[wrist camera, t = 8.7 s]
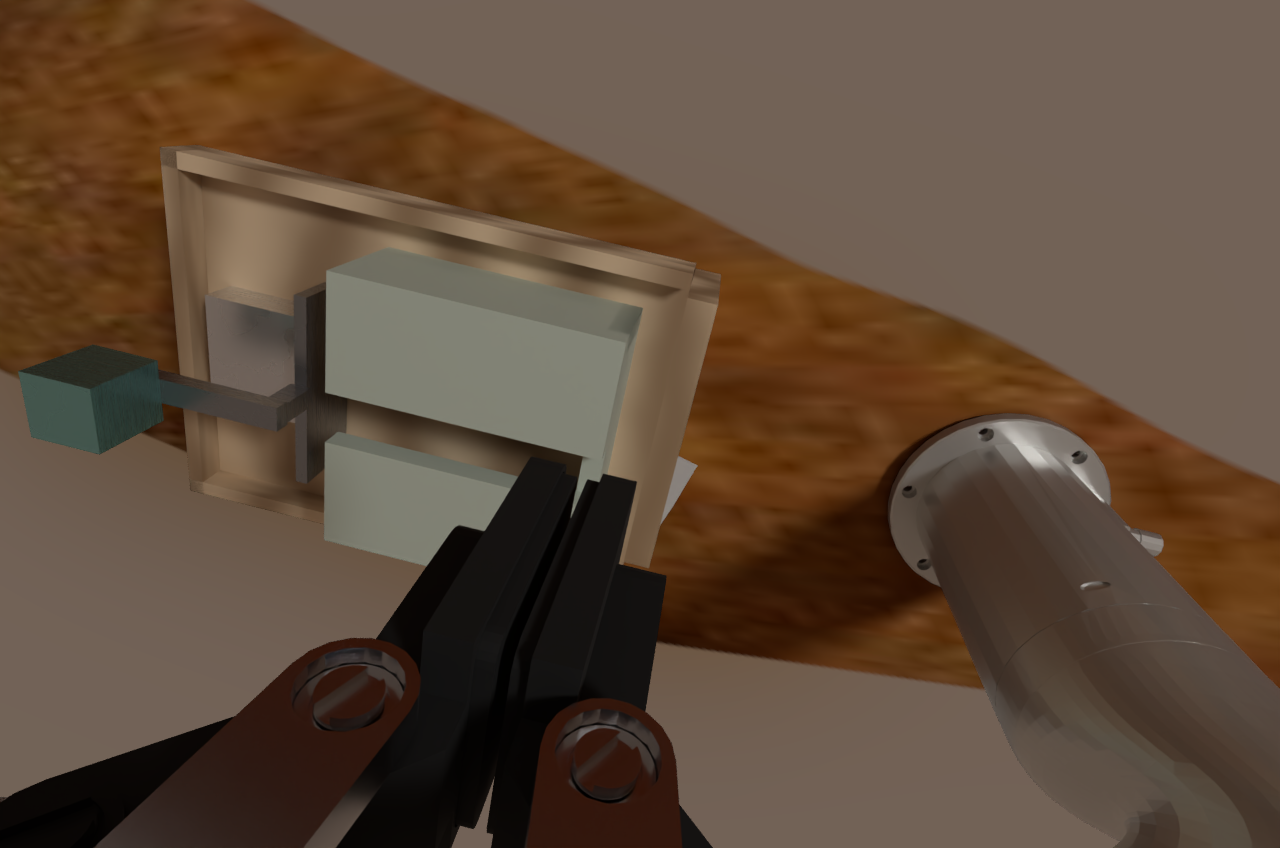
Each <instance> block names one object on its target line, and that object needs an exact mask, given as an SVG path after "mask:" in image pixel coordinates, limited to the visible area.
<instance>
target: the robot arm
mask: <svg viewBox="0 0 1280 848" xmlns="http://www.w3.org/2000/svg"><path fill="white" fill-rule="evenodd" d="M984 428H985V430H984V431H982V432H980V430H982V429H984ZM566 468H567V467H566V464H562V463H558V462H554V461H550V460H545V459H541V458H537V457H530V459H529V460H528V462H527V463H526V465H525V467H524V468H523V470H522V471H521V473H520V475H519V476H518V478H517V480H516V481H515V483H514V484H513V486H512V488H511V489H510V491H509V492H508V494H507V496H506V497H505V499H504V501H503V502H502V504H501V505H500V507H499V509H498V510H497V512H496V514H495V515H494V517H493V518H492V520H491V522H490V523H489V525H488V526H487V528H486V530H485V531H482V530H478V529H474V528H470V527H466V526H461V525H458V526H456V527H455V528H454V529H453V530H452V531H451V532H450V534H449V535H448V537H447V538H446V539H445V541H444V542H443V544H442V545H441V547H440V548H439V549H438V551H437V552H436V554H435V555H434V557H433V558H432V559H431V561H430V562H429V564H428V565H427V567H426V568H425V570H424V571H423V572H422V574H421V576H420V577H419V578H418V580H417V581H416V582H415V584H414V586H413V587H412V588H411V590H410V591H409V592H408V594H407V595H406V597H405V598H404V600H403V601H402V602H401V604H400V606H399V607H398V608H397V610H396V611H395V612H394V614H393V615H392V617H391V618H390V620H389V621H388V622H387V624H386V625H385V627H384V628H383V630H382V631H381V633H380V634H379V635H378V637H377V638H376V639H373V638H348V639H344V640H338V641H333V642H329V643H326V644H324V645H322V646H319V647H317V648H315V649H312V650H310V651H308V652H307V653H306V654H304V655H303V656H302V657H300V658H299V659H297V660H296V661H295V662H293V663H292V664H291V665H290V666H289V667H287V668H286V669H285V670H284V671H283V672H282V673H281V674H280V675H279V676H278V677H277V678H276V679H275V680H273V681H272V682H271V683H270V684H269V685H268V686H267V687H266V688H265V689H264V690H263V691H262V692H261V693H260V694H259V695H257V696H256V697H255V698H254V699H253V700H252V701H251V702H250V703H249V704H248V705H247V706H246V707H244V708H243V709H242V710H241V711H240V712H239V713H238V714H237V715H236V716H234V717H231V718H228V719H225V720H222V721H219V722H216V723H213V724H210V725H207V726H204V727H201V728H198V729H195V730H192V731H189V732H186V733H183V734H181V735H178V736H174V737H171V738H168V739H165V740H162V741H160V742H157V743H154V744H151V745H148V746H145V747H142V748H139V749H136V750H133V751H130V752H127V753H124V754H121V755H118V756H115V757H112V758H109V759H106V760H103V761H100V762H97V763H94V764H92V765H88V766H85V767H82V768H79V769H76V770H74V771H70V772H67V773H64V774H61V775H58V776H55V777H52V778H49V779H46V780H44V781H42V782H39V783H37V784H35V785H32V786H30V787H28V788H25V789H23V790H21V791H19V792H16V793H14V794H12V795H11V796H9V797H0V848H451V847H452V844H453V842H454V839H455V837H456V834H457V832H458V829H459V827H460V826H464V827H467V828H471V829H474V828H475V826H476V824H477V822H478V819H479V817H480V814H481V811H482V809H483V806H484V803H485V801H486V798H487V795H488V793H489V790H490V787H491V785H492V782H493V779H494V785H493V792H492V798H491V805H490V811H489V817H488V824H487V833H490V834H493V839H492V846H491V848H713V847H712V846H711V845H710V844H709V842H708V841H707V840H706V838H705V837H704V836H703V835H702V833H701V832H700V831H699V829H698V828H697V827H696V826H695V824H694V823H693V822H692V821H691V819H690V818H689V816H688V815H687V814H686V813H685V811H684V810H683V809H682V807H681V806H680V805H679V795H678V780H677V766H676V759H675V755H674V751H673V746H672V743H671V741H670V739H669V738H668V736H667V734H666V733H665V731H664V729H663V728H662V726H661V725H659V724H658V723H657V722H656V721H655V720H654V719H653V718H652V717H651V716H650V715H649V714H648V713H646V712H645V710H646V704H647V697H648V691H649V684H650V679H651V671H652V666H653V660H654V653H655V647H656V641H657V635H658V628H659V622H660V616H661V610H662V603H663V597H664V591H665V585H666V575H662V574H657V573H653V572H649V571H645V570H641V569H637V568H633V567H629V566H625V565H621V564H619V562H620V557H621V553H622V548H623V544H624V539H625V535H626V531H627V526H628V522H629V517H630V513H631V508H632V504H633V499H634V495H635V490H636V486H637V481H633V480H629V479H625V478H620V477H616V476H612V475H608V474H603V475H602V477H601V480H600V482H597V481H593V480H589V479H587V481H586V483H585V486H584V488H583V490H582V493H581V495H580V498H579V500H578V502H577V505H576V507H575V509H574V512H573V514H572V516H571V513H572V508H573V502H574V497H575V491H576V485H577V476H572V475H568V474H566ZM907 486H909V487H907ZM905 487H907V488H905ZM1110 503H1111V492H1110V482H1109V479H1108V476H1107V473H1106V470H1105V467H1104V465H1103V464H1102V462H1101V461H1100V459H1099V458H1098V456H1097V455H1096V453H1095V452H1094V451H1093V450H1092V449H1091V448H1090V447H1089V446H1088V445H1087V444H1086V443H1085V442H1084V441H1083V440H1082V439H1081V438H1080V437H1078V436H1077V435H1076V434H1074V433H1073V432H1072V431H1070V430H1069V429H1068V428H1066V427H1064V426H1062V425H1059V424H1057V423H1055V422H1053V421H1051V420H1048V419H1044V418H1040V417H1036V416H1032V415H1027V414H1011V413H1004V414H994V415H984V416H981V417H977V418H973V419H969V420H966V421H962V422H960V423H958V424H956V425H953V426H951V427H949V428H947V429H944V430H943V431H941V432H939V433H938V434H936V435H935V436H933V437H932V438H930V439H929V440H927V441H926V442H925V443H924V444H922V445H921V446H920V447H919V448H918V449H917V450H916V451H915V452H914V453H913V454H912V455H911V456H910V457H909V458H908V460H907V461H906V462H905V464H904V465H903V466H902V468H901V469H900V471H899V473H898V475H897V477H896V479H895V481H894V483H893V485H892V488H891V492H890V496H889V500H888V522H889V527H890V531H891V535H892V537H893V540H894V542H895V545H896V548H897V550H898V551H899V553H900V554H901V556H902V557H903V559H904V561H905V562H906V563H907V564H908V565H909V566H910V567H911V568H912V570H913V571H915V572H916V573H917V574H918V575H920V576H921V577H923V578H924V579H926V580H927V581H929V582H930V583H932V584H934V585H937V586H939V587H941V588H942V591H943V593H944V595H945V598H946V600H947V602H948V605H949V607H950V609H951V612H952V614H953V616H954V618H955V621H956V623H957V625H958V628H959V630H960V632H961V635H962V637H963V639H964V642H965V644H966V646H967V649H968V651H969V653H970V656H971V658H972V660H973V663H974V665H975V667H976V670H977V672H978V674H979V676H980V679H981V681H982V683H983V686H984V688H985V690H986V693H987V695H988V697H989V700H990V702H991V704H992V706H993V709H994V711H995V714H996V716H997V718H998V721H999V722H1000V724H1001V727H1002V729H1003V731H1004V733H1005V736H1006V738H1007V740H1008V743H1009V745H1010V746H1011V748H1012V751H1013V752H1014V754H1015V756H1016V758H1017V760H1018V761H1019V763H1020V764H1021V766H1022V767H1023V768H1024V770H1025V771H1026V773H1027V774H1028V775H1029V776H1030V778H1031V779H1032V780H1033V781H1034V782H1035V783H1036V784H1037V785H1038V786H1039V787H1040V788H1041V789H1042V790H1043V791H1044V792H1045V793H1046V794H1047V795H1048V796H1049V797H1050V798H1051V799H1052V800H1053V801H1055V802H1056V803H1058V804H1059V805H1060V806H1061V807H1063V808H1064V809H1066V810H1067V811H1068V812H1070V813H1071V814H1073V815H1074V816H1076V817H1077V818H1079V819H1080V820H1082V821H1084V822H1085V823H1087V824H1089V825H1090V826H1092V827H1094V828H1096V829H1098V830H1099V831H1101V832H1103V833H1105V834H1107V835H1108V836H1110V837H1112V838H1114V839H1116V840H1118V841H1120V842H1119V843H1118V844H1117V845H1116V846H1115V847H1113V848H1280V689H1279V688H1278V687H1277V686H1276V685H1275V684H1274V683H1273V682H1272V681H1271V680H1270V679H1269V678H1268V677H1267V676H1266V675H1265V674H1264V673H1263V672H1262V671H1261V670H1260V669H1259V668H1258V667H1257V666H1256V665H1255V664H1254V663H1253V661H1252V660H1251V659H1250V658H1249V657H1248V656H1247V655H1246V654H1245V653H1244V652H1243V651H1242V650H1241V649H1240V648H1239V647H1238V646H1237V645H1236V643H1235V642H1234V641H1233V640H1232V639H1231V638H1230V637H1229V636H1228V635H1227V634H1226V633H1225V632H1224V631H1222V629H1221V628H1220V627H1219V626H1218V625H1217V624H1216V623H1215V622H1214V621H1213V620H1212V619H1211V618H1210V617H1209V616H1208V615H1207V613H1206V612H1205V611H1204V610H1203V609H1202V608H1201V607H1200V606H1199V605H1198V604H1197V603H1196V602H1195V601H1194V600H1193V599H1192V598H1191V596H1190V595H1189V594H1188V593H1187V592H1186V591H1185V590H1184V589H1183V588H1182V587H1181V586H1180V585H1179V584H1178V583H1177V582H1176V581H1175V579H1174V578H1173V577H1172V576H1171V575H1170V574H1169V573H1168V572H1167V571H1166V570H1165V569H1164V568H1163V567H1162V566H1161V565H1160V564H1159V562H1158V561H1157V560H1156V559H1155V558H1154V557H1153V556H1157V555H1158V554H1159V553H1160V552H1161V551H1162V548H1163V539H1162V537H1161V535H1159V534H1157V533H1153V532H1149V531H1145V530H1141V529H1137V528H1134V529H1132V528H1130V527H1129V526H1128V525H1127V524H1126V523H1125V522H1124V521H1123V520H1122V518H1121V517H1120V516H1119V515H1118V514H1117V513H1116V512H1115V511H1114V510H1113V509H1112V508H1111V507H1110ZM494 776H495V778H494Z"/></svg>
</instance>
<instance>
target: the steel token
mask: <svg viewBox="0 0 1280 848" xmlns="http://www.w3.org/2000/svg"><path fill="white" fill-rule="evenodd" d="M205 305H206V320H207V334H208V349H209V363H210V377H211V383H215V384H219V385H223V386H227V387H231V388H235V389H239V390H243V391H247V392H251V393H255V394H259V395H263V396H267V397H269V396H271V395H272V394H274V393H276V392H277V391H279V390H281V389H282V388H284V387H286V386H287V385H289V384H295V370H294V301H292V300H288V299H284V298H280V297H276V296H272V295H267V294H263V293H259V292H255V291H251V290H247V289H243V288H239V287H235V286H229V287H226V288H223V289H220V290H217V291H214V292H212V293H209V294H206V295H205ZM289 422H292V423H295V418H294V419H292V420H291V421H289Z"/></svg>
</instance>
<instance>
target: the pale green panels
mask: <svg viewBox="0 0 1280 848" xmlns="http://www.w3.org/2000/svg"><path fill="white" fill-rule="evenodd" d="M642 311H643V308H641V307H637V306H633V305H629V304H624V303H620V302H616V301H612V300H608V299H604V298H599V297H595V296H591V295H587V294H583V293H579V292H574V291H570V290H566V289H562V288H558V287H554V286H549V285H545V284H541V283H537V282H533V281H529V280H524V279H520V278H516V277H512V276H508V275H504V274H499V273H495V272H491V271H487V270H483V269H479V268H474V267H470V266H466V265H462V264H458V263H454V262H449V261H445V260H441V259H437V258H433V257H429V256H424V255H420V254H416V253H412V252H408V251H404V250H399V249H395V248H391V247H387V248H384V249H382V250H379V251H376V252H374V253H371V254H369V255H366V256H363V257H361V258H358V259H355V260H353V261H350V262H347V263H345V264H342V265H339V266H337V267H334V268H332V269H329V270H326V368H325V393H329V394H333V395H337V396H341V397H345V398H349V399H353V400H357V401H361V402H365V403H369V404H373V405H377V406H382V407H386V408H390V409H394V410H398V411H402V412H406V413H410V414H414V415H418V416H422V417H426V418H430V419H434V420H438V421H442V422H446V423H450V424H454V425H458V426H462V427H466V428H470V429H474V430H479V431H483V432H487V433H491V434H495V435H499V436H503V437H507V438H511V439H515V440H519V441H523V442H527V443H531V444H535V445H539V446H543V447H547V448H551V449H555V450H559V451H563V452H567V453H571V454H576V455H580V456H583V459H582V464H581V469H580V474H579V479H578V485H577V490H576V491H575V497H574V502H573V508H572V513H571V516H572V514H573V512H574V509H575V507H576V505H577V502H578V500H579V498H580V495H581V493H582V490H583V488H584V486H585V483H586V481H587V479H589V480H593V481H597V482H600V480H601V477H602V475H603V474H608V469H609V465H610V460H611V456H612V451H613V446H614V442H615V437H616V432H617V428H618V423H619V418H620V414H621V409H622V404H623V400H624V395H625V390H626V386H627V381H628V376H629V372H630V367H631V362H632V358H633V353H634V348H635V344H636V339H637V334H638V330H639V325H640V321H641V316H642ZM517 478H518V476H514V475H510V474H506V473H502V472H498V471H494V470H490V469H486V468H482V467H478V466H474V465H470V464H466V463H462V462H458V461H454V460H450V459H446V458H442V457H438V456H434V455H430V454H426V453H422V452H418V451H414V450H410V449H406V448H402V447H398V446H394V445H390V444H386V443H382V442H378V441H374V440H370V439H366V438H362V437H358V436H354V435H350V434H346V433H342V432H337V433H336V434H335V435H333V436H332V437H331V438H330V439H328V440H327V441H326V442H325V483H324V540H326V541H330V542H334V543H338V544H342V545H346V546H350V547H353V548H357V549H361V550H365V551H369V552H373V553H377V554H381V555H385V556H389V557H393V558H397V559H401V560H405V561H409V562H413V563H417V564H420V565H424V566H427V565H428V564H429V562H430V561H431V559H432V558H433V557H434V555H435V554H436V552H437V551H438V549H439V548H440V547H441V545H442V544H443V542H444V541H445V539H446V538H447V537H448V535H449V534H450V532H451V531H452V530H453V529H454V528H455V527H456V526H458V525H461V526H466V527H470V528H474V529H478V530H482V531H485V530H486V528H487V526H488V525H489V523H490V522H491V520H492V518H493V517H494V515H495V514H496V512H497V510H498V509H499V507H500V505H501V504H502V502H503V501H504V499H505V497H506V496H507V494H508V492H509V491H510V489H511V488H512V486H513V484H514V483H515V481H516V480H517Z"/></svg>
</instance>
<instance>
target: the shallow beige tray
mask: <svg viewBox="0 0 1280 848" xmlns="http://www.w3.org/2000/svg"><path fill="white" fill-rule="evenodd" d="M160 156H161V167H162V178H163V189H164V201H165V212H166V223H167V234H168V245H169V256H170V267H171V278H172V289H173V301H174V312H175V323H176V334H177V345H178V356H179V367H180V375H183V376H187V377H191V378H195V379H199V380H203V381H207V382H211V377H210V363H209V349H208V334H207V320H206V305H205V295H206V294H209V293H212V292H214V291H217V290H220V289H223V288H226V287H229V286H235V287H239V288H243V289H247V290H251V291H255V292H259V293H263V294H267V295H272V296H276V297H280V298H284V299H288V300H292V301H294V294H296V293H299V292H301V291H304V290H306V289H309V288H311V287H314V286H316V285H319V284H321V283H323V282H326V270H329V269H332V268H334V267H337V266H339V265H342V264H345V263H347V262H350V261H353V260H355V259H358V258H361V257H363V256H366V255H369V254H371V253H374V252H376V251H379V250H382V249H384V248H387V247H391V248H395V249H399V250H404V251H408V252H412V253H416V254H420V255H424V256H429V257H433V258H437V259H441V260H445V261H449V262H454V263H458V264H462V265H466V266H470V267H474V268H479V269H483V270H487V271H491V272H495V273H499V274H504V275H508V276H512V277H516V278H520V279H524V280H529V281H533V282H537V283H541V284H545V285H549V286H554V287H558V288H562V289H566V290H570V291H574V292H579V293H583V294H587V295H591V296H595V297H599V298H604V299H608V300H612V301H616V302H620V303H624V304H629V305H633V306H637V307H641V308H643V311H642V316H641V321H640V325H639V330H638V334H637V339H636V344H635V348H634V353H633V358H632V362H631V367H630V372H629V376H628V381H627V386H626V390H625V395H624V400H623V404H622V409H621V414H620V418H619V423H618V428H617V432H616V437H615V442H614V446H613V451H612V456H611V460H610V465H609V469H608V475H612V476H616V477H620V478H625V479H629V480H633V481H637V486H636V490H635V495H634V499H633V504H632V508H631V513H630V517H629V522H628V526H627V531H626V535H625V539H624V544H623V548H622V553H621V557H620V562H619V564H621V565H623V563H624V562H627V563H631V564H634V565H638V566H642V567H646V568H649V565H650V562H651V558H652V554H653V550H654V546H655V543H656V539H657V535H658V531H659V527H660V524H661V520H662V516H663V512H664V508H665V504H666V501H667V497H668V493H669V489H670V485H671V482H672V478H673V474H674V470H675V466H676V463H677V459H678V455H679V451H680V447H681V444H682V440H683V436H684V432H685V428H686V425H687V421H688V417H689V413H690V409H691V406H692V402H693V398H694V394H695V390H696V387H697V383H698V379H699V375H700V371H701V368H702V364H703V360H704V356H705V352H706V349H707V345H708V341H709V337H710V333H711V329H712V326H713V322H714V318H715V314H716V310H717V307H718V299H719V290H720V280H721V274H716V273H712V272H708V271H704V270H700V269H695V266H696V263H693V262H688V261H684V260H680V259H676V258H671V257H667V256H663V255H659V254H655V253H650V252H646V251H642V250H638V249H634V248H629V247H625V246H621V245H617V244H612V243H608V242H604V241H600V240H596V239H591V238H587V237H583V236H579V235H575V234H570V233H566V232H562V231H558V230H553V229H549V228H545V227H541V226H537V225H532V224H528V223H524V222H520V221H516V220H511V219H507V218H503V217H499V216H494V215H490V214H486V213H482V212H478V211H473V210H469V209H465V208H461V207H457V206H452V205H448V204H444V203H440V202H435V201H431V200H427V199H423V198H419V197H414V196H410V195H406V194H402V193H398V192H393V191H389V190H385V189H381V188H376V187H372V186H368V185H364V184H360V183H355V182H351V181H347V180H343V179H339V178H334V177H330V176H326V175H322V174H317V173H313V172H309V171H305V170H301V169H296V168H292V167H288V166H284V165H280V164H275V163H271V162H267V161H263V160H258V159H254V158H250V157H246V156H242V155H237V154H233V153H229V152H225V151H221V150H216V149H212V148H208V147H204V146H199V145H191V146H173V147H160ZM694 270H695V273H694ZM693 274H694V276H693ZM692 278H693V280H692ZM691 283H692V284H691ZM183 412H184V423H185V434H186V445H187V456H188V467H189V478H190V489H191V491H194V492H198V493H202V494H206V495H210V496H214V497H218V498H222V499H226V500H230V501H234V502H238V503H242V504H246V505H249V506H253V507H257V508H261V509H265V510H269V511H273V512H277V513H281V514H285V515H289V516H293V517H297V518H301V519H305V520H309V521H312V522H317V523H320V524H324V483H325V469H324V470H323V471H321V472H320V473H319V474H318V475H317V476H316V477H314V478H313V479H312V480H311V481H310V482H309V483H307V484H305V483H302V482H298V481H296V451H295V423H292V422H288V425H286V426H285V427H283V428H282V429H280V430H279V431H278V432H276V431H272V430H268V429H264V428H260V427H256V426H252V425H248V424H244V423H240V422H236V421H232V420H228V419H224V418H220V417H216V416H212V415H208V414H204V413H200V412H196V411H192V410H188V409H184V408H183ZM346 434H350V435H354V436H358V437H362V438H366V439H370V440H374V441H378V442H382V443H386V444H390V445H394V446H398V447H402V448H406V449H410V450H414V451H418V452H422V453H426V454H430V455H434V456H438V457H442V458H446V459H450V460H454V461H458V462H462V463H466V464H470V465H474V466H478V467H482V468H486V469H490V470H494V471H498V472H502V473H506V474H510V475H514V476H519V475H520V473H521V471H522V470H523V468H524V467H525V465H526V463H527V462H528V460H529V459H530V457H537V458H541V459H545V460H550V461H554V462H558V463H562V464H566V467H567V468H566V474H568V475H572V476H577V485H578V479H579V474H580V469H581V464H582V459H583V456H580V455H576V454H571V453H567V452H563V451H559V450H555V449H551V448H547V447H543V446H539V445H535V444H531V443H527V442H523V441H519V440H515V439H511V438H507V437H503V436H499V435H495V434H491V433H487V432H483V431H479V430H474V429H470V428H466V427H462V426H458V425H454V424H450V423H446V422H442V421H438V420H434V419H430V418H426V417H422V416H418V415H414V414H410V413H406V412H402V411H398V410H394V409H390V408H386V407H382V406H377V405H373V404H369V403H365V402H361V401H357V400H353V399H349V398H347V429H346ZM577 485H576V490H577Z"/></svg>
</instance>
